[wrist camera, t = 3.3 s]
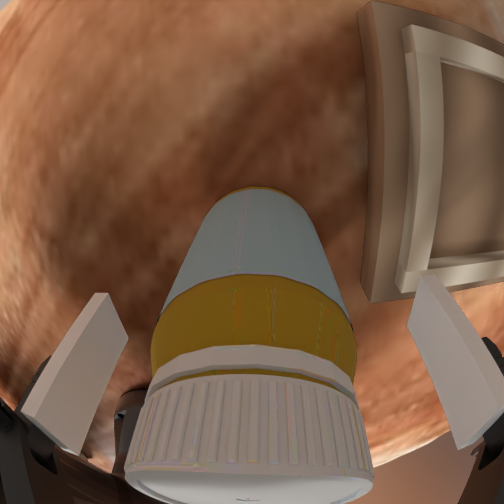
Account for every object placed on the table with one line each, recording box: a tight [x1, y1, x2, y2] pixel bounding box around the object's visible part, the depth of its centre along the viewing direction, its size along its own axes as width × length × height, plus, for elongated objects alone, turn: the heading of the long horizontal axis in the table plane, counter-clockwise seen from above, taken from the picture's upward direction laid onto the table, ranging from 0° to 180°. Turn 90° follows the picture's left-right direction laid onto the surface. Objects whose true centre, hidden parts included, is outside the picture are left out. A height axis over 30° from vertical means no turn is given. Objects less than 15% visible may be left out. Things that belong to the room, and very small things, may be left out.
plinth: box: [357, 1, 504, 304], centre depth 13 cm, size 18×18×4 cm
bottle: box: [124, 186, 374, 504], centre depth 12 cm, size 7×7×15 cm
